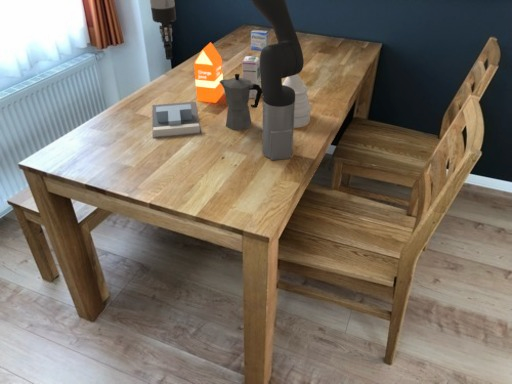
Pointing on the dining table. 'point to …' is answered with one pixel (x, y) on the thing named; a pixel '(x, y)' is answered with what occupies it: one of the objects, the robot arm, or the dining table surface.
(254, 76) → the syrup box
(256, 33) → the medicine box
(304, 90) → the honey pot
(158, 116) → the t block
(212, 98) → the orange juice
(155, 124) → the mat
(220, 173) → the dining table surface
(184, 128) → the rail
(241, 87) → the coffeepot
